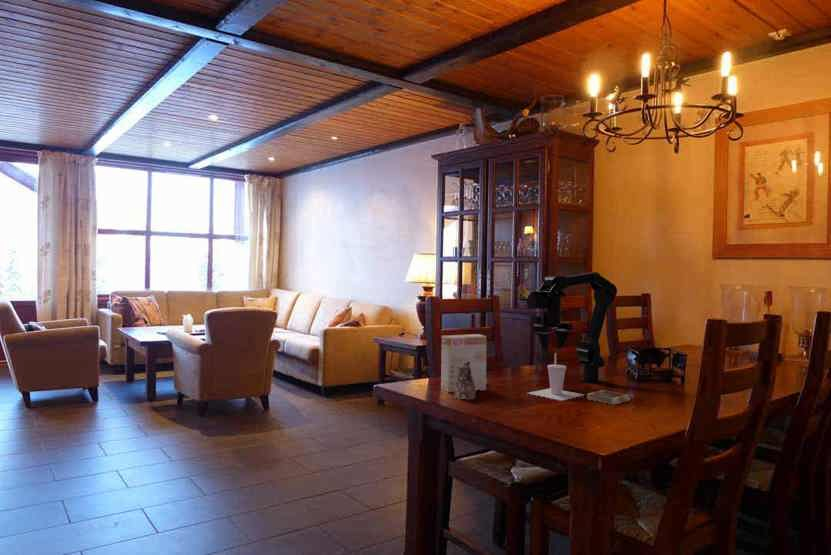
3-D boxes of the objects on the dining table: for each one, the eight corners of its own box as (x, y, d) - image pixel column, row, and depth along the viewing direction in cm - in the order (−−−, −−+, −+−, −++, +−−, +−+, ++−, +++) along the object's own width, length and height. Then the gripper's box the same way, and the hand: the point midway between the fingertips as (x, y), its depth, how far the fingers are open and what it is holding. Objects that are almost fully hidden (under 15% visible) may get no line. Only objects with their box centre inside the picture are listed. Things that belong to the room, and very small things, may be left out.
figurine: (449, 397, 199) (450, 361, 198) (462, 394, 204) (463, 359, 204) (466, 400, 194) (467, 364, 194) (479, 397, 199) (480, 362, 199)
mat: (550, 389, 215) (550, 388, 215) (584, 395, 205) (584, 394, 205) (527, 394, 206) (527, 393, 206) (561, 401, 195) (561, 400, 195)
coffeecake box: (477, 386, 217) (478, 333, 217) (486, 390, 211) (487, 335, 211) (440, 389, 212) (440, 334, 212) (448, 393, 206) (448, 337, 205)
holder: (602, 395, 205) (602, 389, 205) (629, 400, 198) (630, 394, 198) (587, 399, 198) (587, 393, 198) (614, 405, 191) (614, 398, 191)
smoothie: (549, 391, 209) (549, 351, 209) (567, 393, 207) (568, 353, 206) (545, 394, 203) (545, 353, 203) (563, 396, 201) (564, 355, 201)
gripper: (549, 306, 236) (549, 345, 236) (520, 308, 223) (520, 349, 224) (574, 308, 228) (573, 349, 228) (545, 310, 215) (544, 353, 215)
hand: (552, 350), depth 224 cm, fingers open, 9 cm apart
